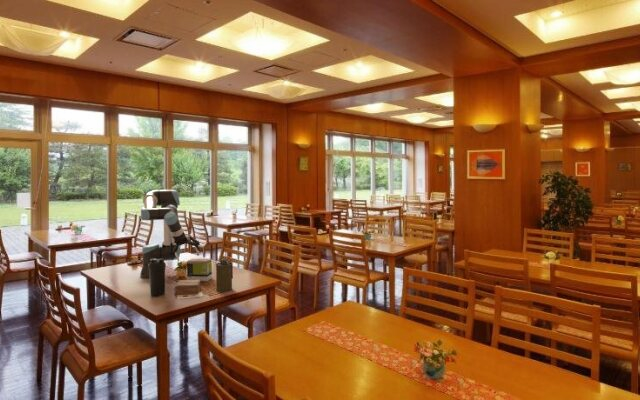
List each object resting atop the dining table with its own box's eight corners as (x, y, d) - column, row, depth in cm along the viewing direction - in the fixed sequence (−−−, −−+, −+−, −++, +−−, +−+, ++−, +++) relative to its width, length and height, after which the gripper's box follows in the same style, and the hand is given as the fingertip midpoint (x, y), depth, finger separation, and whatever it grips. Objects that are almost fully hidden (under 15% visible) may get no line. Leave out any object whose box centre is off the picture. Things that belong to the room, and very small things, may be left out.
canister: (219, 293, 255) (219, 262, 254) (213, 289, 264) (213, 259, 262) (235, 290, 262) (235, 260, 260) (229, 286, 270) (228, 257, 268)
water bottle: (152, 292, 256) (151, 257, 254) (168, 292, 257) (167, 257, 255) (146, 297, 246) (145, 261, 244) (163, 297, 247) (162, 260, 245)
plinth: (178, 289, 263) (178, 280, 263) (200, 288, 266) (200, 279, 265) (175, 295, 249) (174, 286, 249) (198, 294, 252) (197, 284, 251)
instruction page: (177, 294, 252) (177, 293, 252) (201, 292, 257) (201, 291, 257) (176, 299, 243) (176, 298, 243) (202, 296, 248) (202, 296, 248)
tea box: (212, 278, 291) (212, 258, 290) (207, 281, 281) (206, 261, 280) (192, 277, 292) (192, 257, 291) (186, 281, 282) (186, 260, 281)
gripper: (158, 243, 252) (170, 266, 265) (197, 230, 257) (207, 253, 270) (158, 236, 258) (169, 259, 270) (196, 223, 263) (205, 247, 276)
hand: (188, 256), depth 270 cm, fingers open, 13 cm apart
